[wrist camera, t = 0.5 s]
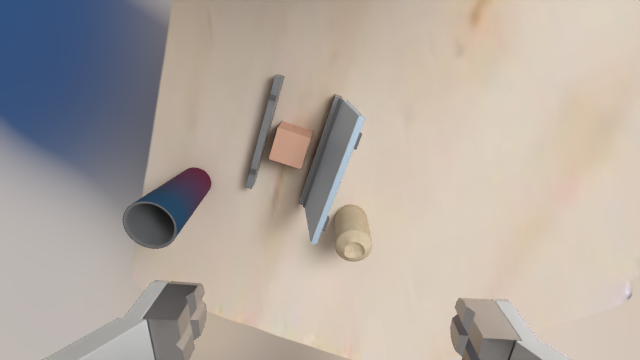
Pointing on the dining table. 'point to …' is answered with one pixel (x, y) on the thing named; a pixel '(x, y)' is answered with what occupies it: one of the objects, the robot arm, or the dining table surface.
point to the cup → (166, 209)
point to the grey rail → (266, 128)
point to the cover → (332, 166)
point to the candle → (352, 233)
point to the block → (290, 145)
